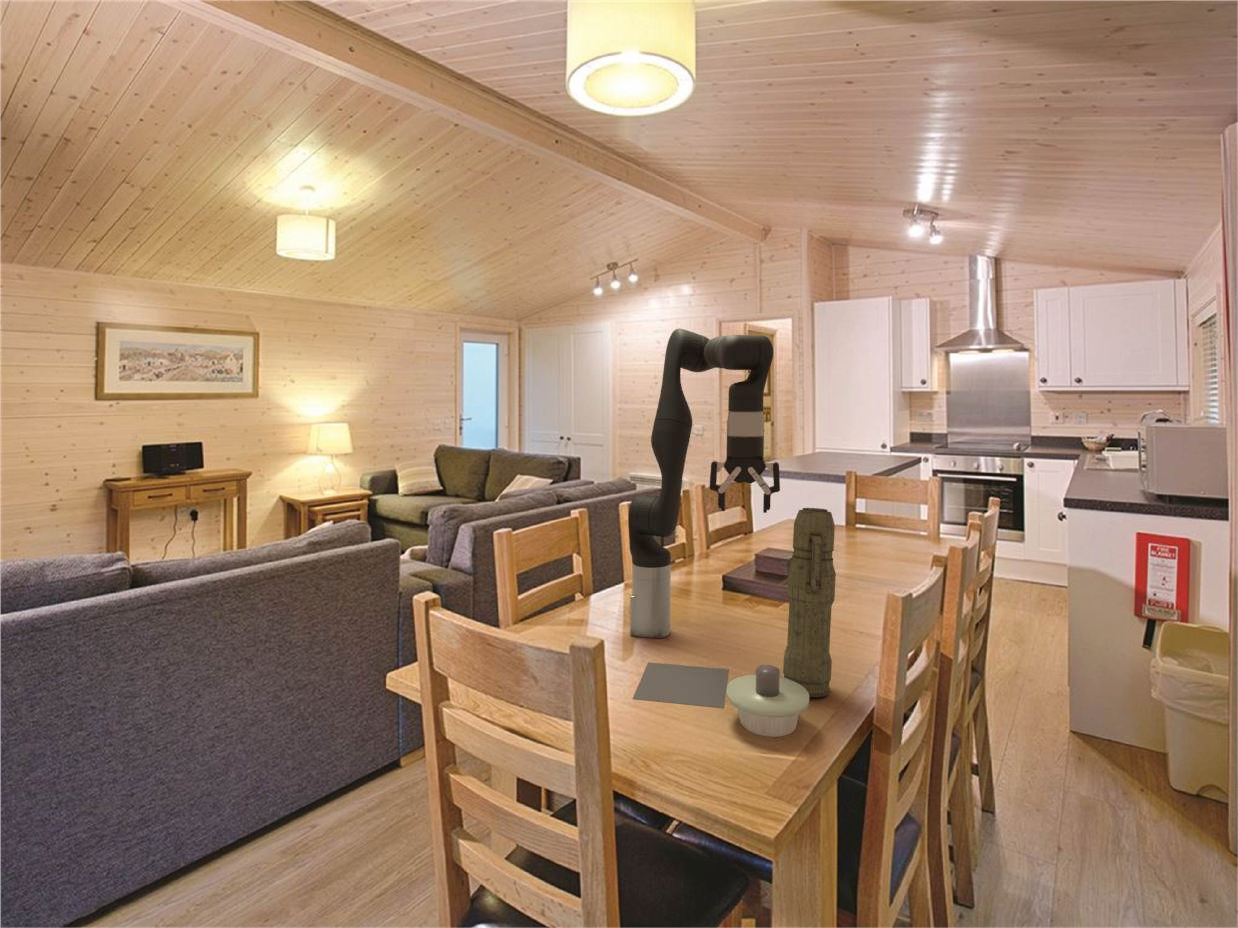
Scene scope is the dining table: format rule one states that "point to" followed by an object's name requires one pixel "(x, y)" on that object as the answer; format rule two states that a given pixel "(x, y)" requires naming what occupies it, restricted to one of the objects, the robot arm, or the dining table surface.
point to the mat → (683, 685)
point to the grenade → (811, 602)
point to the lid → (767, 694)
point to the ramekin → (768, 724)
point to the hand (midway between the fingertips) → (744, 511)
